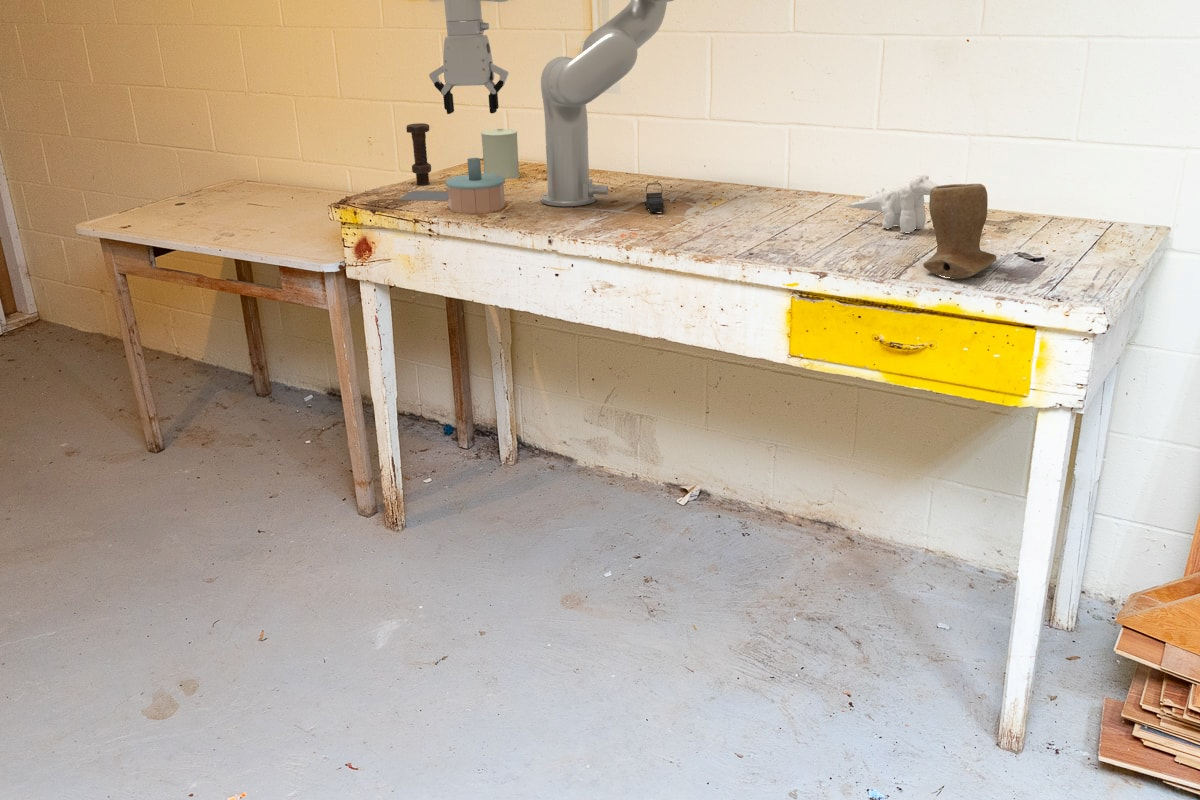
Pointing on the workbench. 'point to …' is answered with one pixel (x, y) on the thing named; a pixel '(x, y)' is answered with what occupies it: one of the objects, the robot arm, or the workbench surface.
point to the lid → (475, 178)
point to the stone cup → (958, 230)
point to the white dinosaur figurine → (900, 204)
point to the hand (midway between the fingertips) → (471, 112)
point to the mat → (426, 196)
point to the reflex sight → (654, 200)
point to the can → (500, 152)
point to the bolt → (420, 152)
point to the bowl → (476, 200)
